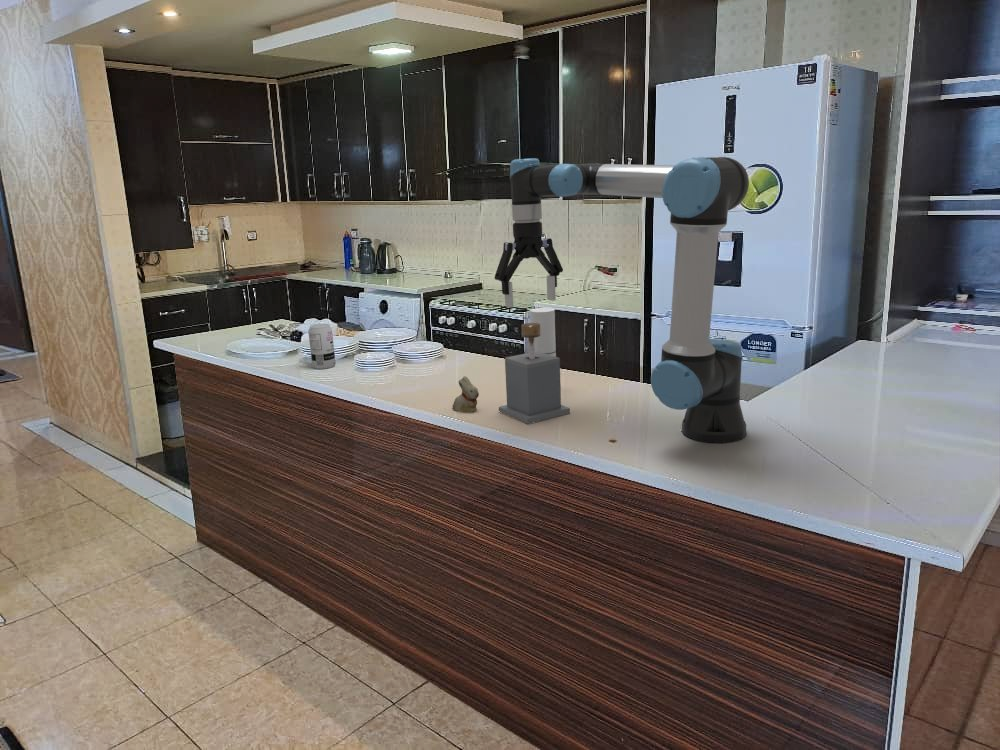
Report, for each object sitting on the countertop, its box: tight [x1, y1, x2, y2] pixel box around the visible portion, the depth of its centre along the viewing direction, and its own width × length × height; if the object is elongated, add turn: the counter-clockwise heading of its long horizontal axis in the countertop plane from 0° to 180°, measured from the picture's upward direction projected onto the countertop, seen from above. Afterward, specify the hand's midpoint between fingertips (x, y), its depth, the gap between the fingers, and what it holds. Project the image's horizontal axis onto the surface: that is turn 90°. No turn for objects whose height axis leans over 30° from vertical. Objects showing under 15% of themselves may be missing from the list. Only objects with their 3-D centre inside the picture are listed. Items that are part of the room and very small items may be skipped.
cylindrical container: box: [529, 307, 557, 357], centre depth 217 cm, size 7×7×25 cm
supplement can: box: [307, 323, 336, 370], centre depth 263 cm, size 8×8×15 cm
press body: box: [498, 351, 571, 425], centre depth 200 cm, size 14×14×16 cm
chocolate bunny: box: [452, 375, 480, 413], centre depth 206 cm, size 6×8×10 cm
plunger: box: [521, 322, 541, 360], centre depth 198 cm, size 8×8×20 cm
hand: (530, 303), depth 194 cm, fingers open, 13 cm apart
